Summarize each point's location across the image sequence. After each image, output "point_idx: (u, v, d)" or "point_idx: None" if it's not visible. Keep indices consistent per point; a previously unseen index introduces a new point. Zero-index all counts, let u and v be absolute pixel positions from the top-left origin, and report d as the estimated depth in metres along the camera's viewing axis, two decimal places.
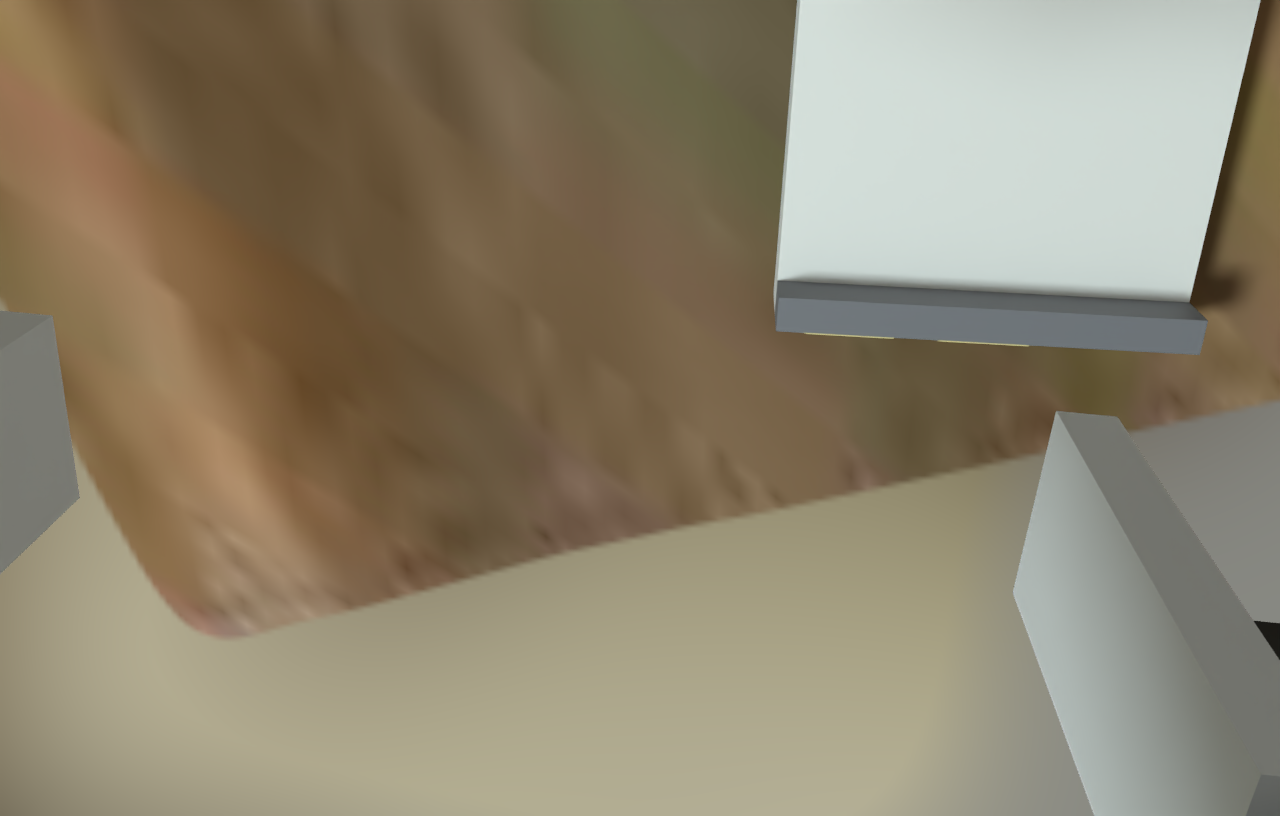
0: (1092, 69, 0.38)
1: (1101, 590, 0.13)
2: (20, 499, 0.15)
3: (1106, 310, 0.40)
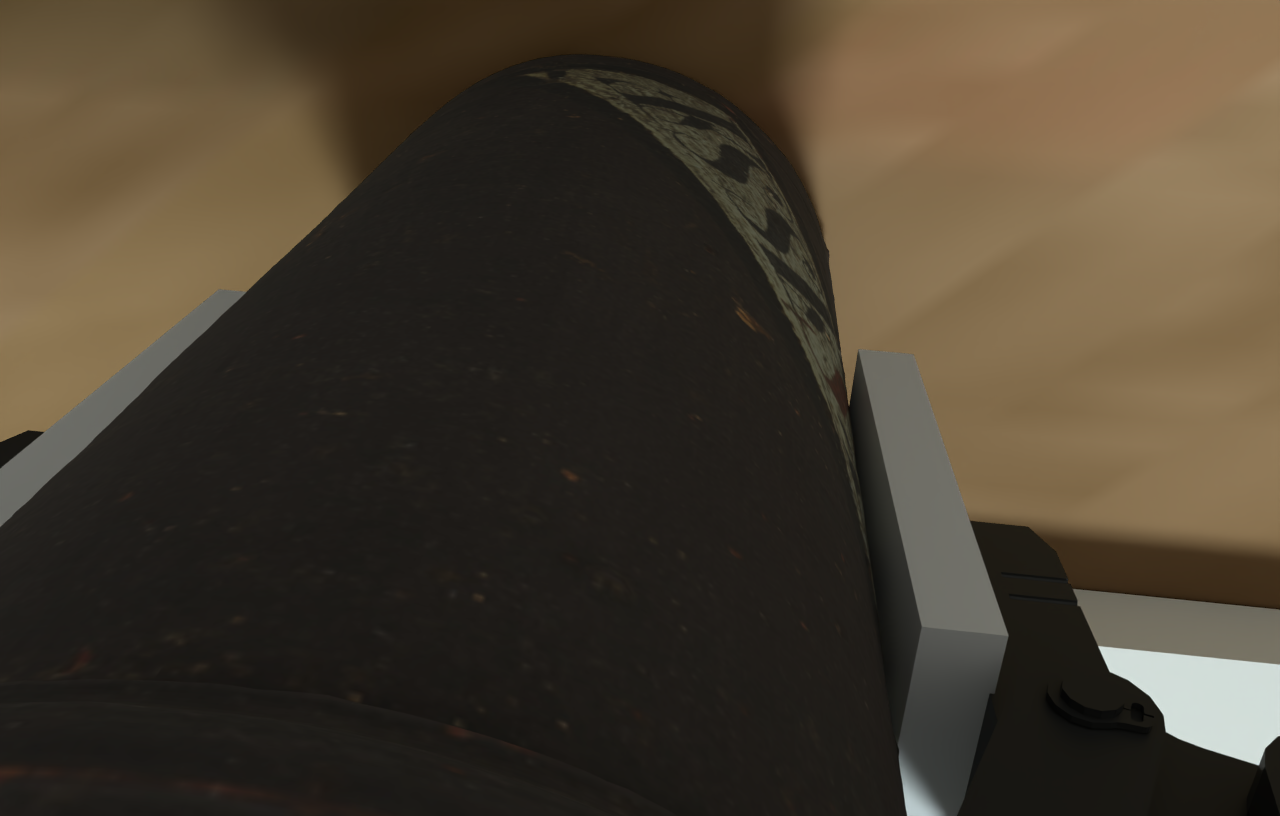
0: None
1: (868, 500, 0.14)
2: None
3: None
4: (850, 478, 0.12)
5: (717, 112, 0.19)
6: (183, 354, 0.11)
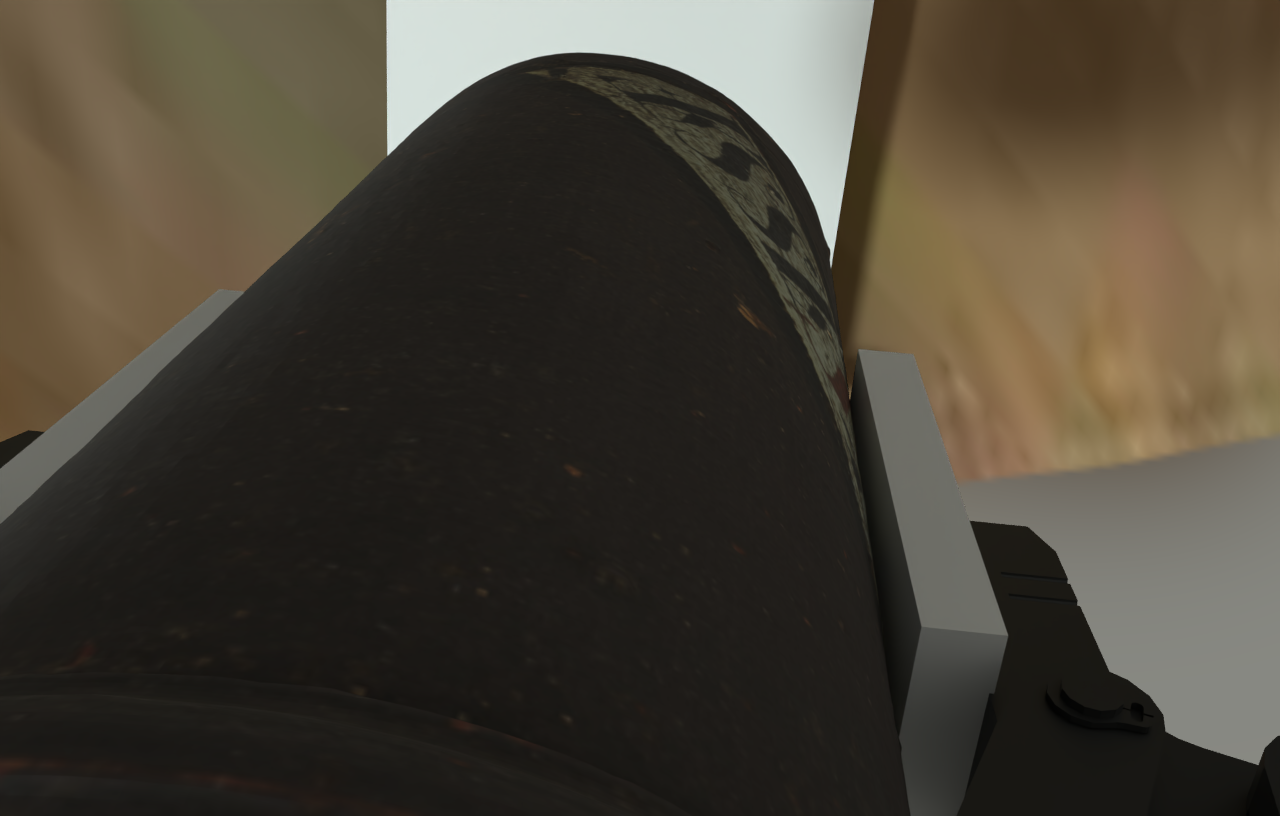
0: None
1: (868, 500, 0.14)
2: None
3: None
4: (852, 475, 0.12)
5: (718, 110, 0.19)
6: (185, 350, 0.11)
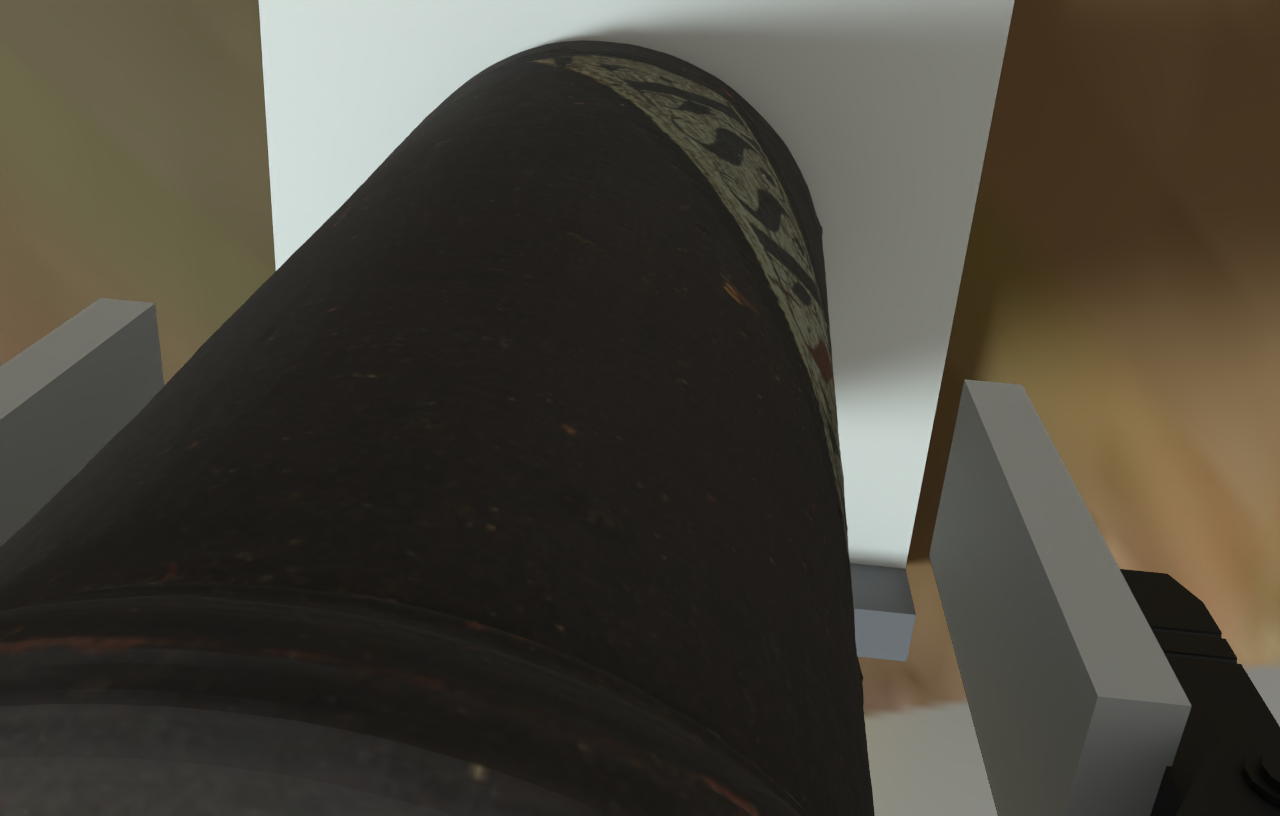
0: None
1: (992, 544, 0.13)
2: None
3: None
4: (827, 438, 0.14)
5: (715, 96, 0.21)
6: (226, 324, 0.12)
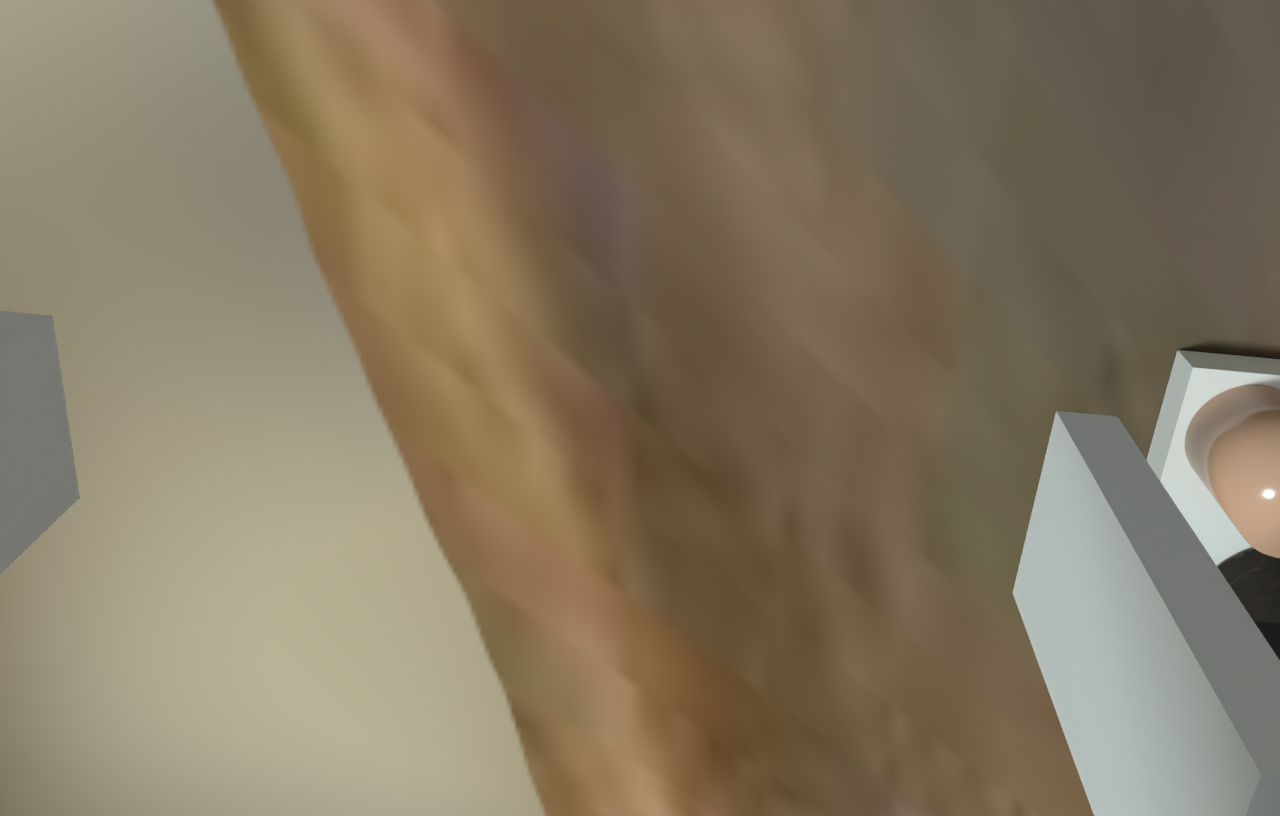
0: None
1: (1101, 590, 0.13)
2: (20, 499, 0.15)
3: None
4: None
5: None
6: None
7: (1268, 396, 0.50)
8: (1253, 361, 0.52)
